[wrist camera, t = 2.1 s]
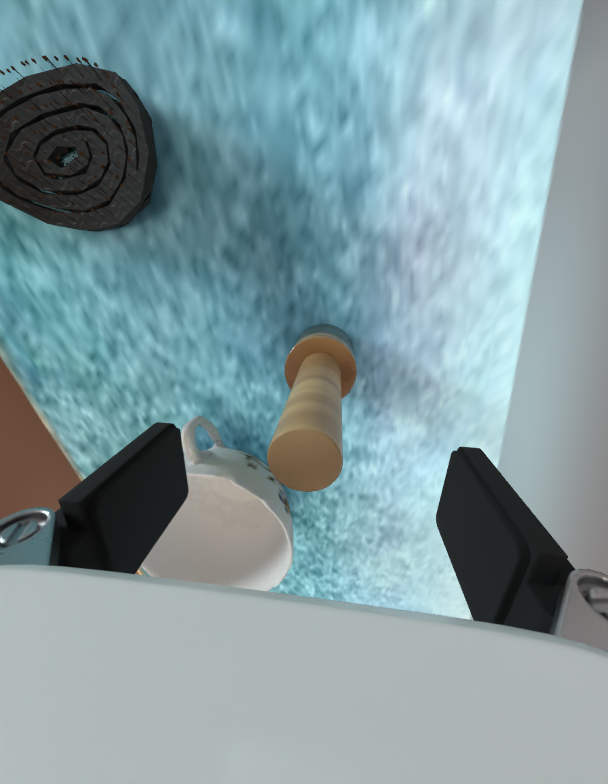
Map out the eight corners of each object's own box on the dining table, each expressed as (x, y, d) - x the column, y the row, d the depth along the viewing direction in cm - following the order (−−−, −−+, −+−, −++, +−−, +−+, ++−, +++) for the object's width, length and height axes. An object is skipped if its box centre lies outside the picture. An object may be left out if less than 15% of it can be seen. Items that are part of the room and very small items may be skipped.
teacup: (310, 526, 30) (300, 610, 22) (194, 525, 32) (149, 603, 24) (292, 388, 24) (272, 439, 17) (153, 396, 26) (80, 445, 19)
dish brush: (285, 334, 23) (216, 420, 10) (344, 316, 22) (352, 383, 9) (304, 388, 24) (266, 523, 11) (359, 373, 23) (387, 501, 10)
